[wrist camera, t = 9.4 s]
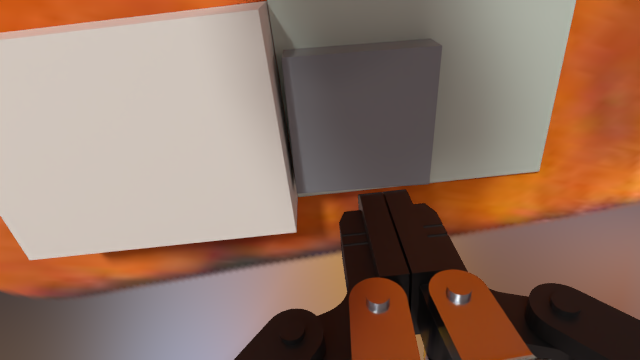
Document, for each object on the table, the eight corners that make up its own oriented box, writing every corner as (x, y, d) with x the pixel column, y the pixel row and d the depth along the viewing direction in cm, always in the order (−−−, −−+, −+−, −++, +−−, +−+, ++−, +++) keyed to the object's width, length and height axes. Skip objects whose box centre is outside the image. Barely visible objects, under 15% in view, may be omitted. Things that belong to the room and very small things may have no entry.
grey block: (430, 38, 20) (442, 45, 19) (420, 168, 24) (429, 183, 23) (283, 49, 20) (281, 57, 19) (297, 177, 24) (296, 193, 23)
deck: (266, 1, 19) (258, 9, 16) (297, 195, 25) (296, 232, 22) (-35, 36, 20) (-107, 52, 16) (66, 220, 26) (29, 260, 22)
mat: (580, -39, 19) (584, -39, 19) (536, 169, 25) (539, 171, 25) (267, -1, 19) (266, -1, 19) (298, 194, 25) (298, 197, 25)
